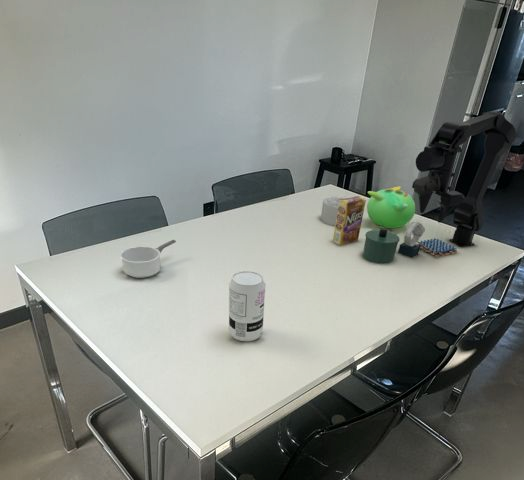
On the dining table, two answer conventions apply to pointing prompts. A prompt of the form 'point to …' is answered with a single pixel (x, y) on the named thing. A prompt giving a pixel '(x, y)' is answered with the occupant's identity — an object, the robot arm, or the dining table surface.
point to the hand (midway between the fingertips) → (430, 217)
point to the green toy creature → (390, 207)
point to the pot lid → (382, 236)
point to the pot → (379, 252)
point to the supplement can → (246, 305)
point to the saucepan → (142, 260)
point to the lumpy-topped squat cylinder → (330, 210)
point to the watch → (411, 240)
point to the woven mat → (437, 247)
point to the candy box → (349, 220)
